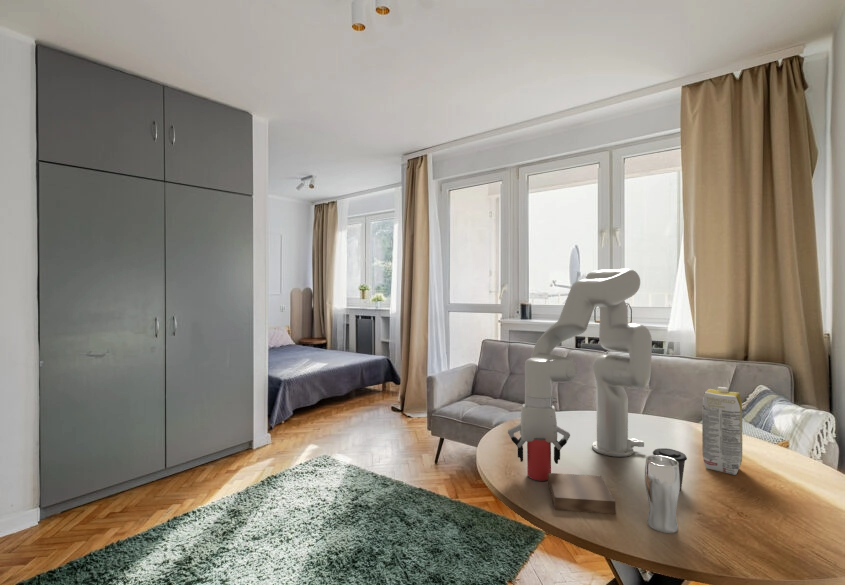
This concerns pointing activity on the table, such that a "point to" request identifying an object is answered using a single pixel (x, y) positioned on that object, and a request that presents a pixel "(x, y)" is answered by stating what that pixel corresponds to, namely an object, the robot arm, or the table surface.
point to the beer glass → (662, 492)
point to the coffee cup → (675, 455)
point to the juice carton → (722, 430)
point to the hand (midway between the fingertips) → (538, 460)
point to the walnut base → (581, 493)
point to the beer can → (538, 459)
